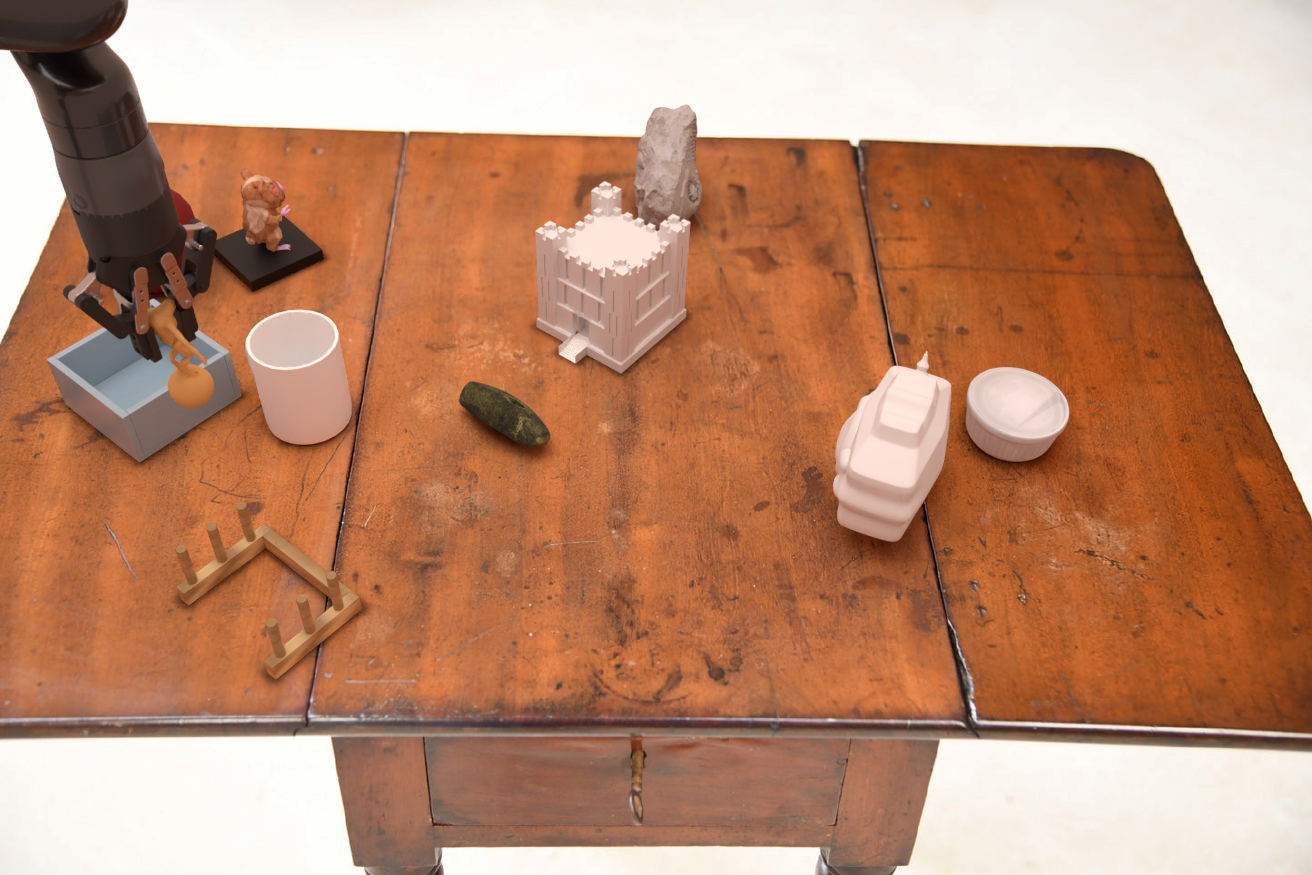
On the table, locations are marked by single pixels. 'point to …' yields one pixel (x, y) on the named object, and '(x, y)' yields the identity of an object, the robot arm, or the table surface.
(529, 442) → the decorative stone
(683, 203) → the fossil
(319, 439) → the mug
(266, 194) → the figurine
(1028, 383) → the ramekin
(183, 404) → the figurine
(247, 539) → the drying rack
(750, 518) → the table surface
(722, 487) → the table surface
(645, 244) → the castle model
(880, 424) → the white tiered block
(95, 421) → the light blue open box
